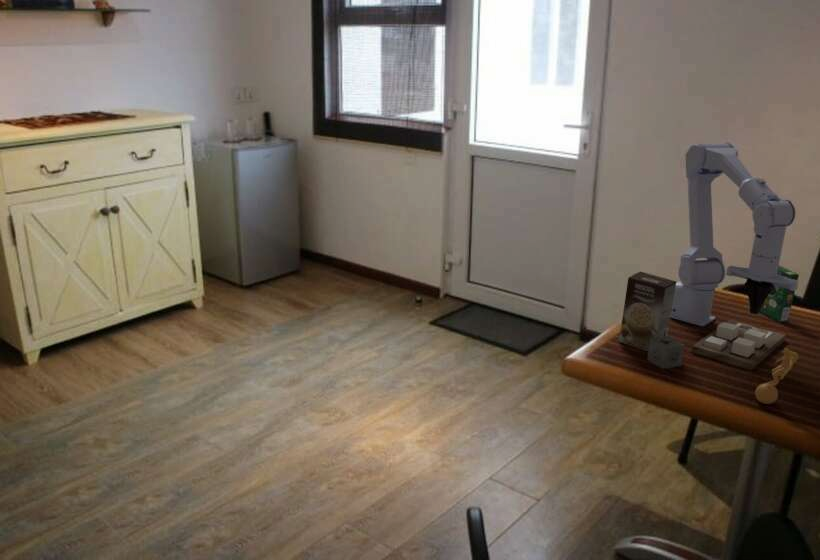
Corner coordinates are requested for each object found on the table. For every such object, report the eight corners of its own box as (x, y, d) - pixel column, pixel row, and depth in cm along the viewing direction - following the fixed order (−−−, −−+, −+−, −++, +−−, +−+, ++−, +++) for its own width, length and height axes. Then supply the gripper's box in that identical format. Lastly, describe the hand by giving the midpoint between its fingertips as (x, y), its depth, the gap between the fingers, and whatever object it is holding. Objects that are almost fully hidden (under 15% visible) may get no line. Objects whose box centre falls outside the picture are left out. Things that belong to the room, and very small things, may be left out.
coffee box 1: (617, 342, 168) (626, 276, 163) (630, 334, 173) (639, 270, 168) (654, 354, 162) (665, 286, 157) (667, 346, 167) (677, 280, 162)
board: (691, 352, 164) (692, 344, 163) (728, 325, 180) (730, 318, 180) (750, 370, 156) (752, 362, 155) (784, 340, 172) (786, 333, 171)
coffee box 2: (789, 322, 184) (800, 273, 179) (779, 323, 183) (790, 274, 179) (768, 311, 191) (777, 263, 187) (758, 311, 190) (768, 264, 186)
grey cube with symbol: (647, 360, 160) (650, 339, 158) (665, 356, 161) (668, 336, 160) (663, 369, 155) (666, 348, 154) (681, 366, 157) (684, 344, 155)
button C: (702, 350, 164) (704, 340, 164) (709, 346, 167) (710, 335, 166) (718, 355, 162) (720, 345, 161) (724, 351, 165) (726, 340, 164)
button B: (742, 343, 165) (744, 333, 164) (747, 339, 168) (749, 328, 167) (758, 348, 163) (760, 337, 162) (764, 343, 165) (766, 333, 164)
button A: (715, 336, 169) (717, 325, 168) (721, 331, 171) (723, 321, 171) (731, 340, 167) (733, 330, 166) (737, 336, 169) (739, 326, 168)
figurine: (752, 391, 146) (763, 336, 142) (785, 397, 144) (797, 342, 140) (754, 410, 139) (766, 352, 135) (789, 416, 137) (802, 358, 133)
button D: (731, 352, 160) (733, 341, 159) (736, 347, 163) (738, 337, 162) (747, 357, 158) (750, 346, 157) (753, 352, 160) (755, 341, 160)
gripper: (725, 250, 160) (715, 308, 164) (795, 265, 151) (782, 326, 155) (737, 245, 165) (727, 301, 169) (806, 259, 156) (793, 318, 160)
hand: (754, 312), depth 163 cm, fingers closed
